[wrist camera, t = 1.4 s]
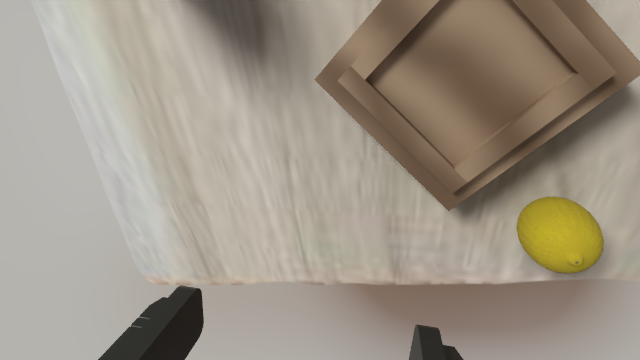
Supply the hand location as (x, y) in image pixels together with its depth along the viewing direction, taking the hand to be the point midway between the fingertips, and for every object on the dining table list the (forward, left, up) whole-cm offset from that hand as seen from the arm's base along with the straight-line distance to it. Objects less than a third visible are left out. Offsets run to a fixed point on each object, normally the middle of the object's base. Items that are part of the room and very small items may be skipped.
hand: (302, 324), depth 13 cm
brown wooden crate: (-10, +1, -23) cm, 25 cm away
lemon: (-7, +16, -23) cm, 29 cm away
